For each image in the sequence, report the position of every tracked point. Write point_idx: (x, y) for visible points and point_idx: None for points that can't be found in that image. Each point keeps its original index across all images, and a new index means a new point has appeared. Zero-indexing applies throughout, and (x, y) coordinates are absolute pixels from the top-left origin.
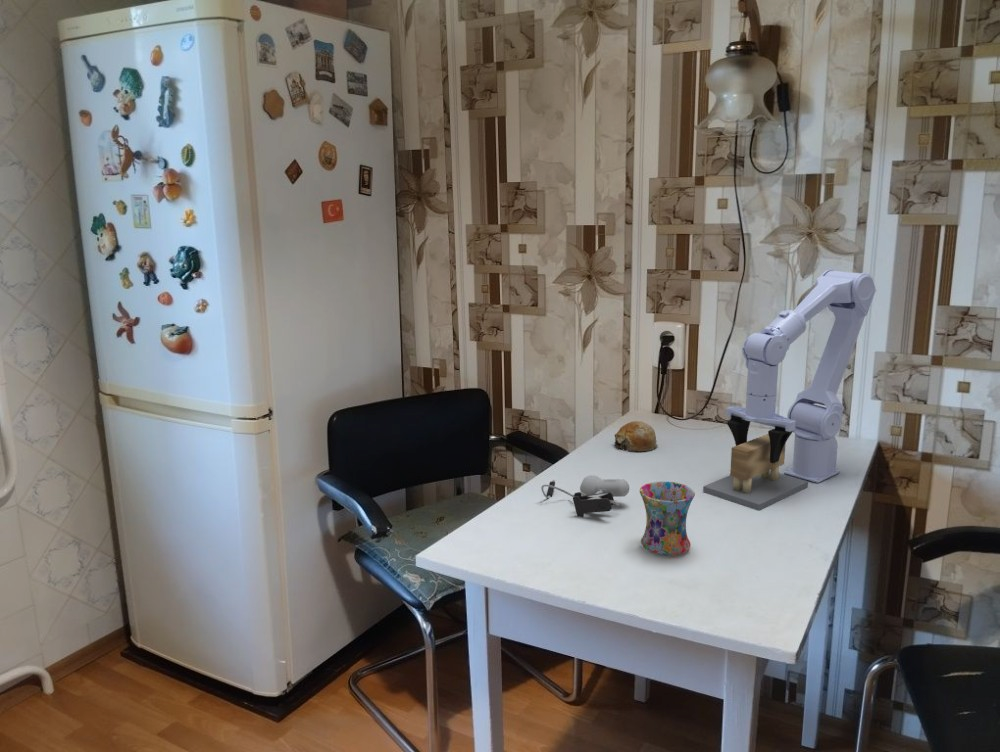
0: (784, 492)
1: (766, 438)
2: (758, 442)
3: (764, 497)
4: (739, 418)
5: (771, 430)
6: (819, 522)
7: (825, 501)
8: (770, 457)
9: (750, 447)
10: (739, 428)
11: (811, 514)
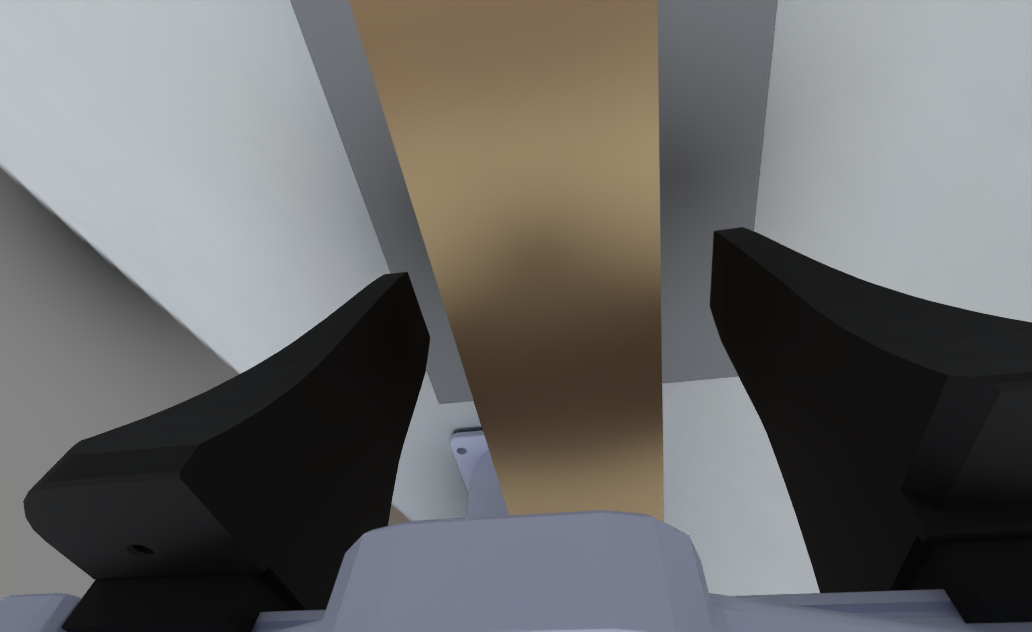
0: (375, 224)
1: (595, 490)
2: (562, 378)
3: (356, 56)
4: (1004, 585)
5: (187, 515)
6: (32, 99)
7: (281, 324)
8: (381, 287)
9: (478, 180)
10: (858, 404)
11: (147, 153)
